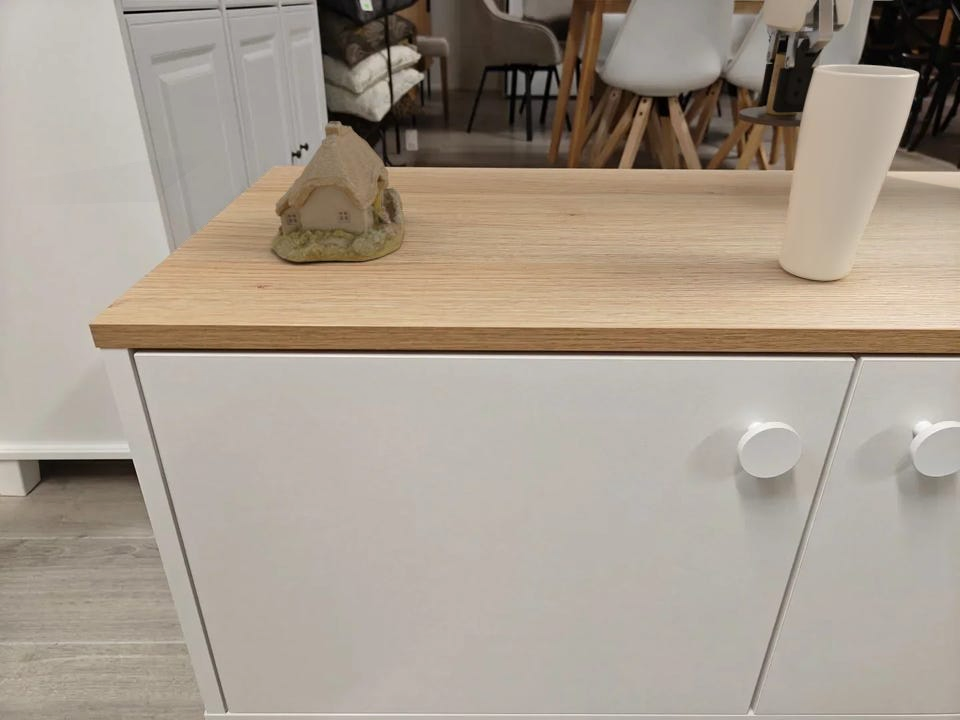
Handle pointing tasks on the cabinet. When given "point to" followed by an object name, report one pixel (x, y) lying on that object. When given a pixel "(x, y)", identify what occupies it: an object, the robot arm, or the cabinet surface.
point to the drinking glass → (842, 163)
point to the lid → (766, 113)
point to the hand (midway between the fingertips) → (782, 106)
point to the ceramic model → (340, 204)
